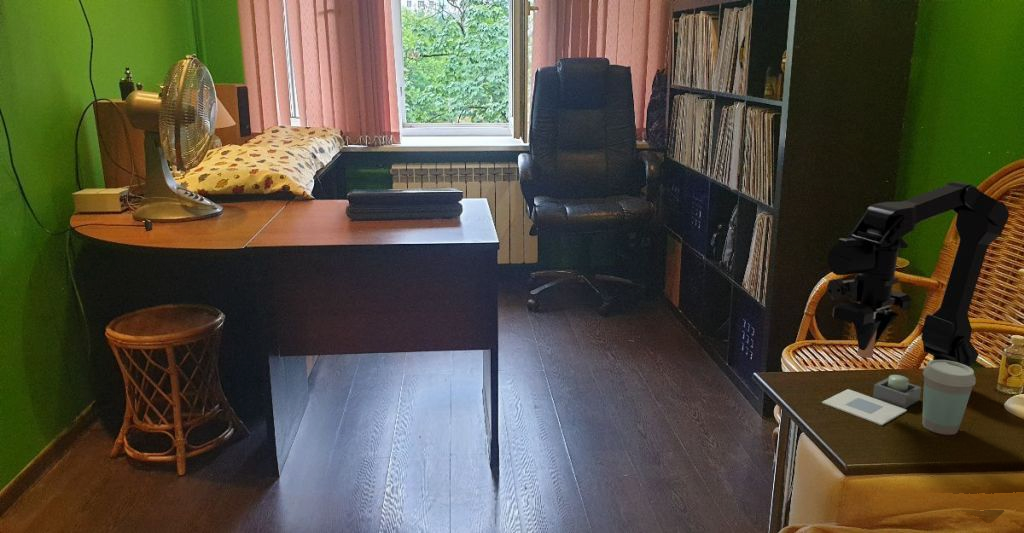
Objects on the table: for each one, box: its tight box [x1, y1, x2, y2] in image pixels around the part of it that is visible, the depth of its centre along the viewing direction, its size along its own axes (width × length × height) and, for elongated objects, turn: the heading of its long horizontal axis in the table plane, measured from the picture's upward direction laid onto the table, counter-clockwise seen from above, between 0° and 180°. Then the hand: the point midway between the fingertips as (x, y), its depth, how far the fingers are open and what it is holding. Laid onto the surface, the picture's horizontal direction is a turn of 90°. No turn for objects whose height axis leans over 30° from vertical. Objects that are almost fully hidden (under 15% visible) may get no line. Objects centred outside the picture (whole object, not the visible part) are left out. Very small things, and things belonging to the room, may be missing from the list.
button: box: [888, 374, 910, 393], centre depth 154 cm, size 4×4×2 cm
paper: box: [821, 388, 908, 426], centre depth 151 cm, size 10×12×1 cm
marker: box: [857, 329, 877, 359], centre depth 150 cm, size 3×3×7 cm
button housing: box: [872, 376, 922, 409], centre depth 154 cm, size 6×6×3 cm
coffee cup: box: [921, 359, 977, 436], centre depth 141 cm, size 8×8×12 cm
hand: (866, 347), depth 151 cm, fingers closed on marker, 3 cm apart
